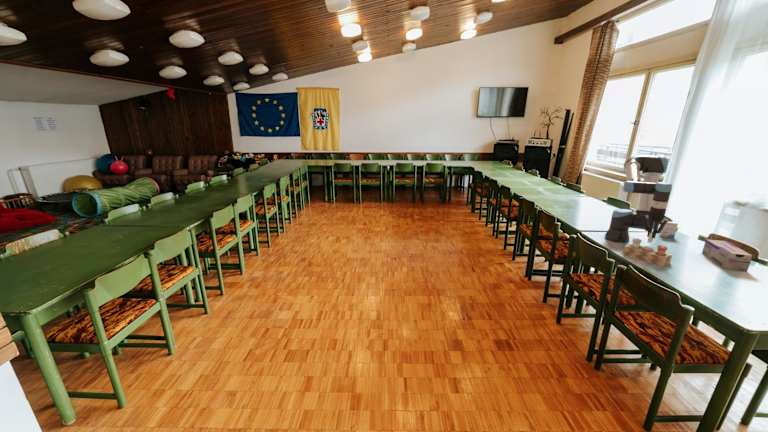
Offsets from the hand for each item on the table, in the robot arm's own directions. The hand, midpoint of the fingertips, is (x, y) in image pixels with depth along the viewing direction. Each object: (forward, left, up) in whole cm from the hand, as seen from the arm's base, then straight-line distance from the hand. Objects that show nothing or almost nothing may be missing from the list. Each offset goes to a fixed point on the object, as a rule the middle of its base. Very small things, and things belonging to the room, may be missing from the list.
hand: (649, 242), depth 203 cm
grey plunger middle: (0, 0, -11) cm, 11 cm away
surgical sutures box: (+26, +36, -12) cm, 46 cm away
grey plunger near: (-7, 0, -8) cm, 11 cm away
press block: (0, 0, -12) cm, 12 cm away
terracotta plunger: (+7, 0, -8) cm, 11 cm away
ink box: (-14, +62, -12) cm, 64 cm away
